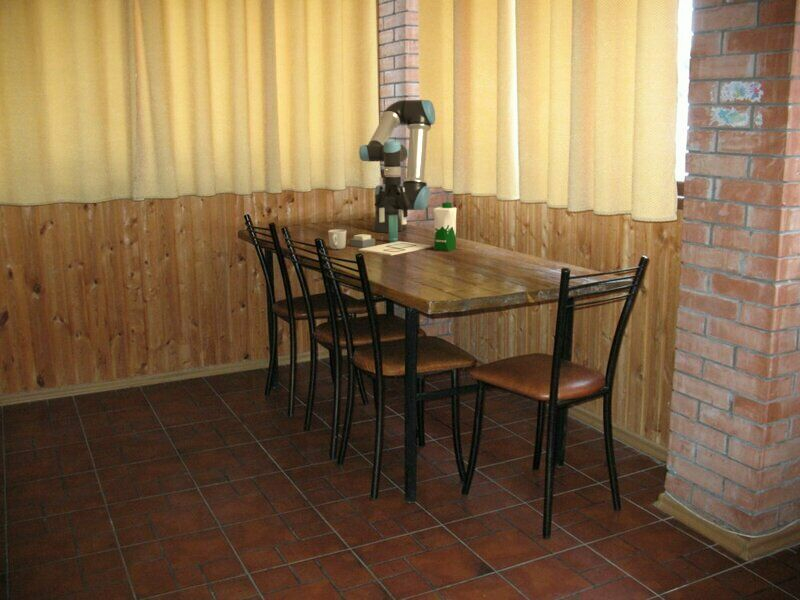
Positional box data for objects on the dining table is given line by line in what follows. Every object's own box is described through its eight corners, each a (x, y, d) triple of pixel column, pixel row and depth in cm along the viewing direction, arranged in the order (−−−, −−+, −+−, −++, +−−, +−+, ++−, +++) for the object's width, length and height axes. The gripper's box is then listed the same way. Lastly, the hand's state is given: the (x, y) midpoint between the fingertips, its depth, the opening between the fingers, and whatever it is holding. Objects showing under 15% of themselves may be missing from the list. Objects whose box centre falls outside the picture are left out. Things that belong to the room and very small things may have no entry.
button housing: (362, 243, 395) (362, 236, 394) (375, 245, 390) (375, 238, 389) (349, 245, 389) (349, 239, 389) (362, 247, 384) (362, 240, 383)
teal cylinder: (393, 240, 401) (392, 214, 398) (399, 241, 398) (399, 215, 396) (387, 242, 398) (386, 215, 396) (393, 242, 396) (393, 216, 393)
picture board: (399, 243, 395) (399, 240, 394) (431, 247, 382) (431, 245, 382) (358, 250, 376) (358, 248, 376) (391, 255, 364) (391, 253, 363)
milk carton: (458, 248, 378) (458, 202, 373) (449, 252, 370) (449, 205, 366) (440, 247, 382) (440, 201, 377) (431, 250, 374) (430, 204, 370)
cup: (342, 251, 375) (341, 233, 373) (324, 251, 376) (324, 232, 374) (348, 247, 385) (348, 229, 383) (331, 247, 387) (330, 229, 385)
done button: (362, 240, 393) (362, 234, 392) (371, 241, 389) (370, 235, 389) (353, 242, 389) (353, 235, 388) (362, 243, 385) (362, 236, 385)
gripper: (366, 175, 397) (367, 221, 401) (407, 177, 381) (407, 226, 385) (378, 174, 403) (378, 220, 407) (418, 176, 386) (419, 224, 391)
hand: (392, 223), depth 396 cm, fingers open, 13 cm apart
